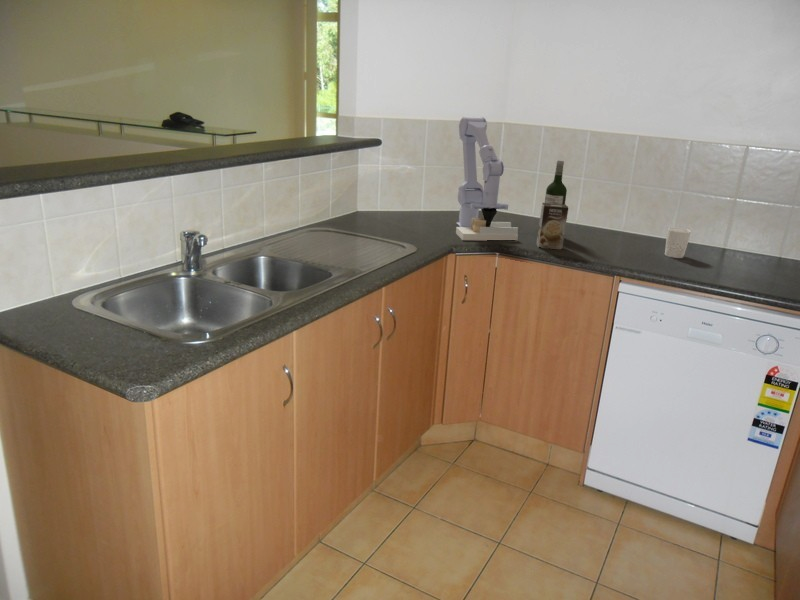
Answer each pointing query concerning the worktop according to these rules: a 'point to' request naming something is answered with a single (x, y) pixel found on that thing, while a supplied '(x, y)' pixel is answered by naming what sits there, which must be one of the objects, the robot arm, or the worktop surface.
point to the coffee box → (552, 226)
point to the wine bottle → (556, 187)
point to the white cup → (676, 242)
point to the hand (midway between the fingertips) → (487, 227)
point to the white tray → (489, 232)
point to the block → (477, 224)
